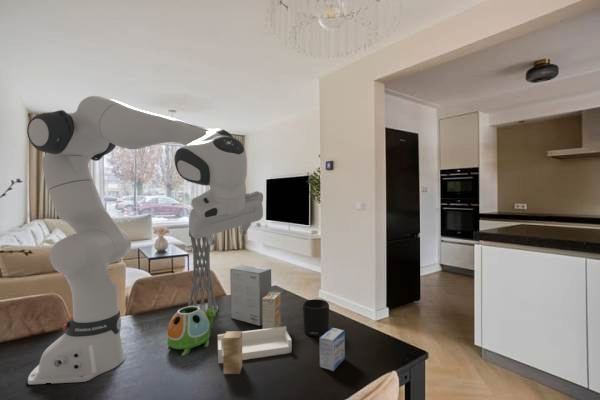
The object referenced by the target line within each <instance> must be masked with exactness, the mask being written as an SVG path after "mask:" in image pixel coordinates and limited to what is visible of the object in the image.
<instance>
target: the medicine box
mask: <svg viewBox="0 0 600 400" xmlns="http://www.w3.org/2000/svg"><path fill="white" fill-rule="evenodd" d="M345 334H346V333H345V330H344V329H340V328H337V327H336V328H335V327H331V328H330V329H328V332H326V333H325V334H324V335H323V336H319V367H320V368H323V369H326V370H329V371H331V372H334V371H336V369H337V368H338V367H339V366H340V365H341V363H342V362H343V361H344V360H345V358H346V355H345V354H346V353H345V351H346V349H345V346H346V342H345V340H346V339H345Z"/></svg>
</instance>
